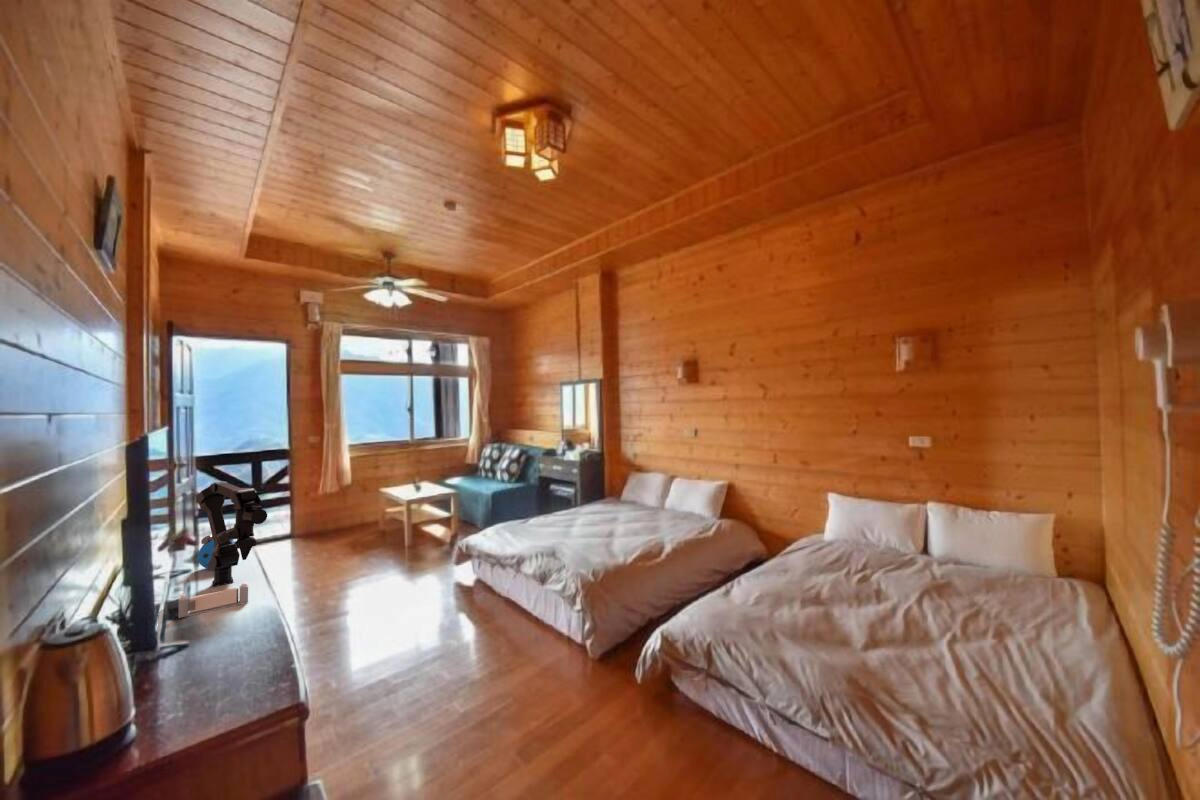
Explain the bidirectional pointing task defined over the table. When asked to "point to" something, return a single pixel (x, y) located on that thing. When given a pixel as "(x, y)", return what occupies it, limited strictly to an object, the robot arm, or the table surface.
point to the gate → (215, 599)
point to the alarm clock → (207, 550)
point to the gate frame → (188, 606)
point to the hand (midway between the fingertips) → (244, 559)
